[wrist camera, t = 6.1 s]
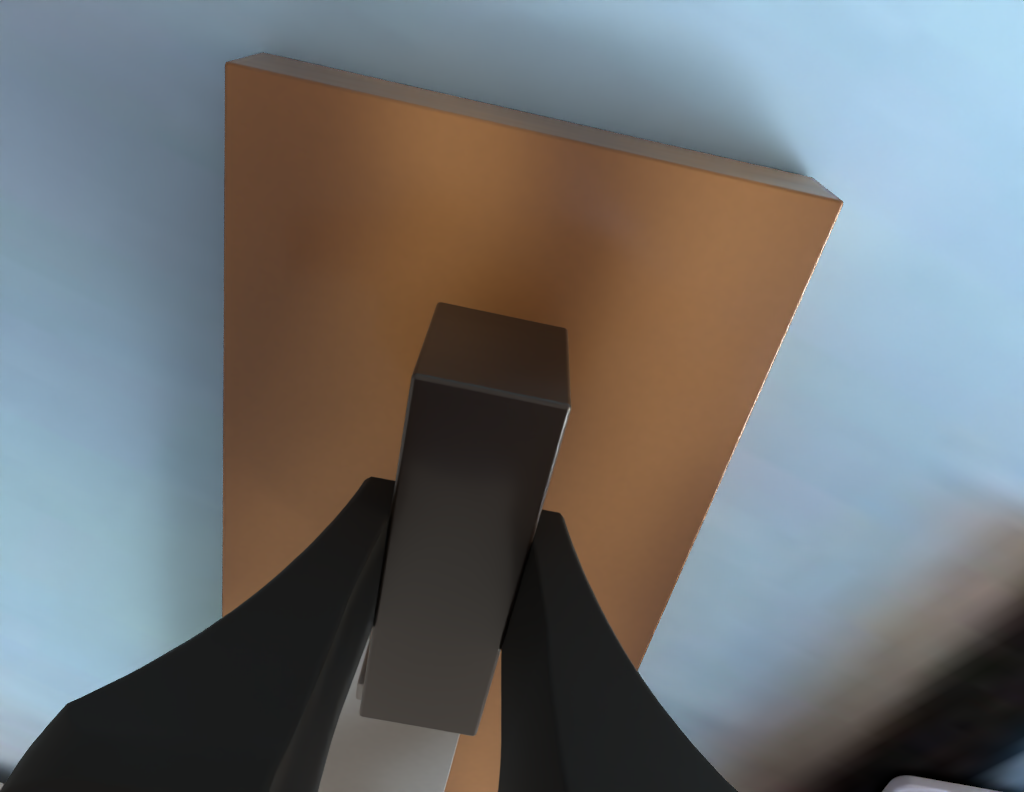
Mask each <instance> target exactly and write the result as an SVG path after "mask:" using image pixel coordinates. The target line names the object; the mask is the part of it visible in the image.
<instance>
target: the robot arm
mask: <svg viewBox="0 0 1024 792" xmlns="http://www.w3.org/2000/svg"><path fill="white" fill-rule="evenodd" d="M394 485H395V481H393V480H388V479H383V478H377V477H372V476H371V477H369V478H367V479H366V480H364V482H363V483H362V485H361V486H360V488H359V489H358V491H357V492H356V493H355V495H354V496H353V497H352V498H351V500H350V501H349V502H348V503H347V505H346V506H345V507H344V508H343V509H342V511H341V512H340V513H339V514H338V515H337V516H336V518H335V519H334V520H333V521H332V522H331V523H330V524H329V525H328V526H327V527H326V528H325V529H324V530H323V532H322V533H321V534H320V535H319V536H318V537H317V538H316V539H315V540H314V541H313V542H312V543H311V544H310V545H309V546H308V547H307V548H306V549H305V550H304V551H303V552H302V553H301V554H300V555H299V556H297V557H296V558H295V559H294V560H293V561H292V562H291V563H290V564H289V565H288V566H287V567H286V568H285V569H283V570H282V571H281V572H280V573H279V574H278V575H277V576H276V577H274V578H273V579H272V580H271V581H270V582H269V583H267V584H266V585H265V586H264V587H262V588H261V589H260V590H259V591H258V592H256V593H255V594H254V595H252V596H251V597H250V598H249V599H247V600H246V601H245V602H243V603H242V604H241V605H239V606H238V607H237V608H235V609H234V610H232V611H231V612H230V613H228V614H227V615H225V616H224V617H223V618H221V619H220V620H218V621H217V622H215V623H214V624H213V625H211V626H210V627H208V628H207V629H205V630H204V631H202V632H201V633H199V634H198V635H196V636H194V637H193V638H191V639H190V640H188V641H186V642H185V643H183V644H181V645H179V646H178V647H176V648H174V649H173V650H171V651H169V652H167V653H166V654H164V655H162V656H161V657H159V658H157V659H155V660H154V661H152V662H150V663H149V664H147V665H145V666H143V667H141V668H140V669H138V670H136V671H134V672H132V673H130V674H128V675H126V676H124V677H122V678H120V679H118V680H116V681H114V682H112V683H110V684H108V685H106V686H104V687H102V688H100V689H98V690H95V691H93V692H91V693H89V694H87V695H85V696H83V697H81V698H79V699H77V700H74V701H72V702H70V703H68V704H66V706H65V707H64V708H63V709H62V710H61V711H60V712H59V713H58V714H57V716H56V717H55V718H54V719H53V720H52V721H51V722H50V724H49V725H48V726H47V727H46V728H45V730H44V731H43V732H42V733H41V734H40V735H39V737H38V738H37V739H36V740H35V741H34V742H33V744H32V745H31V746H30V747H29V749H28V750H27V751H26V753H25V754H24V756H23V757H22V758H21V760H20V761H19V763H18V764H17V766H16V767H15V769H14V770H13V772H12V773H11V775H10V776H9V778H8V779H7V781H6V782H5V784H4V785H3V787H2V788H1V790H0V792H318V790H319V786H320V782H321V779H322V775H323V771H324V767H325V764H326V760H327V756H328V752H329V749H330V745H331V741H332V738H333V735H334V732H335V729H336V726H337V723H338V719H339V716H340V714H341V711H342V708H343V705H344V703H345V700H346V697H347V695H348V692H349V689H350V687H351V684H352V681H353V678H354V676H355V673H356V670H357V668H358V665H359V662H360V659H361V657H362V654H363V651H364V649H365V646H366V643H367V640H368V638H369V635H370V632H371V629H372V627H373V622H374V615H375V609H376V603H377V596H378V590H379V583H380V577H381V571H382V564H383V558H384V551H385V545H386V538H387V532H388V526H389V519H390V511H391V505H392V498H393V492H394ZM498 792H738V791H737V790H736V789H735V788H734V787H733V786H732V785H730V784H729V783H728V782H727V781H726V780H725V779H724V778H723V777H722V776H721V775H720V774H719V773H718V771H717V770H716V769H715V768H714V767H713V766H712V765H711V764H710V763H709V762H708V761H707V759H706V758H705V757H704V756H703V755H702V754H701V753H700V752H699V751H698V750H697V748H696V747H695V746H694V745H693V744H692V743H691V742H690V740H689V739H688V738H687V737H686V736H685V734H684V733H683V732H682V731H681V729H680V728H679V727H678V726H677V724H676V723H675V722H674V721H673V719H672V718H671V717H670V716H669V714H668V713H667V712H666V711H665V709H664V708H663V707H662V706H661V704H660V703H659V702H658V700H657V699H656V697H655V696H654V695H653V693H652V692H651V690H650V689H649V688H648V686H647V685H646V683H645V682H644V680H643V679H642V677H641V676H640V674H639V673H638V671H637V670H636V668H635V667H634V665H633V664H632V662H631V661H630V659H629V657H628V656H627V654H626V652H625V651H624V649H623V647H622V646H621V644H620V642H619V641H618V639H617V637H616V635H615V633H614V632H613V630H612V628H611V626H610V624H609V622H608V621H607V619H606V617H605V615H604V613H603V611H602V609H601V607H600V605H599V603H598V601H597V599H596V597H595V594H594V592H593V590H592V588H591V586H590V584H589V582H588V580H587V577H586V575H585V573H584V570H583V568H582V566H581V563H580V561H579V558H578V556H577V553H576V551H575V548H574V546H573V543H572V540H571V538H570V535H569V532H568V529H567V526H566V523H565V519H564V518H563V516H562V515H561V513H558V512H553V511H548V510H543V509H542V511H541V515H540V518H539V522H538V525H537V528H536V532H535V535H534V539H533V542H532V545H531V549H530V552H529V555H528V559H527V562H526V566H525V569H524V573H523V576H522V579H521V583H520V586H519V590H518V593H517V597H516V600H515V603H514V607H513V610H512V614H511V617H510V621H509V624H508V627H507V631H506V634H505V638H504V641H503V645H502V648H501V758H500V775H499V785H498ZM882 792H1001V791H995V790H990V789H984V788H978V787H973V786H967V785H961V784H956V783H950V782H944V781H939V780H933V779H928V778H922V777H916V776H911V775H902V776H898V777H895V778H893V779H892V780H891V781H890V782H889V783H888V785H887V786H886V787H885V788H884V790H883V791H882Z"/></svg>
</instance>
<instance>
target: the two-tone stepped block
mask: <svg viewBox="0 0 1024 792" xmlns="http://www.w3.org/2000/svg"><path fill="white" fill-rule="evenodd" d="M570 412H571V390H570V367H569V345H568V330H567V329H565V328H562V327H557V326H553V325H548V324H543V323H538V322H534V321H529V320H524V319H519V318H514V317H510V316H505V315H500V314H495V313H491V312H486V311H481V310H476V309H472V308H467V307H462V306H457V305H452V304H448V303H443V302H439V303H438V304H437V305H436V308H435V311H434V313H433V316H432V319H431V322H430V325H429V328H428V331H427V333H426V336H425V339H424V342H423V345H422V348H421V351H420V353H419V356H418V359H417V362H416V365H415V368H414V371H413V373H412V376H411V383H410V389H409V395H408V402H407V408H406V415H405V421H404V428H403V434H402V440H401V447H400V453H399V460H398V466H397V473H396V479H395V485H394V492H393V498H392V505H391V511H390V519H389V526H388V532H387V538H386V545H385V551H384V558H383V564H382V571H381V577H380V583H379V590H378V596H377V603H376V609H375V615H374V622H373V627H372V629H371V632H370V635H369V638H368V640H367V643H366V646H365V649H364V651H363V654H362V657H361V659H360V662H359V665H358V668H357V670H356V673H355V676H354V678H353V681H352V684H351V687H350V689H349V692H348V695H347V697H346V700H345V703H344V705H343V708H342V711H341V714H340V716H339V719H338V723H337V726H336V729H335V732H334V735H333V738H332V741H331V745H330V749H329V752H328V756H327V760H326V764H325V767H324V771H323V775H322V779H321V782H320V786H319V790H318V792H444V791H445V787H446V783H447V780H448V776H449V772H450V769H451V765H452V761H453V758H454V754H455V750H456V747H457V743H458V739H459V736H460V734H463V735H468V736H475V735H476V733H477V731H478V727H479V724H480V721H481V717H482V714H483V710H484V707H485V703H486V700H487V697H488V693H489V690H490V686H491V683H492V679H493V676H494V673H495V669H496V666H497V662H498V659H499V655H500V652H501V648H502V645H503V641H504V638H505V634H506V631H507V627H508V624H509V621H510V617H511V614H512V610H513V607H514V603H515V600H516V597H517V593H518V590H519V586H520V583H521V579H522V576H523V573H524V569H525V566H526V562H527V559H528V555H529V552H530V549H531V545H532V542H533V539H534V535H535V532H536V528H537V525H538V522H539V518H540V515H541V511H542V508H543V504H544V501H545V498H546V494H547V491H548V487H549V484H550V480H551V477H552V474H553V470H554V467H555V463H556V460H557V456H558V453H559V450H560V446H561V443H562V439H563V436H564V432H565V429H566V426H567V422H568V419H569V415H570Z"/></svg>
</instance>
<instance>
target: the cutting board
mask: <svg viewBox="0 0 1024 792" xmlns="http://www.w3.org/2000/svg"><path fill="white" fill-rule="evenodd" d="M842 206H843V201H842V200H840V199H839V198H838V197H837V196H835V195H834V194H833V193H831V192H830V191H829V190H828V189H826V188H825V187H824V186H822V185H821V184H820V183H819V182H817V181H816V180H815V179H814V178H812V177H808V176H804V175H799V174H795V173H790V172H786V171H782V170H777V169H773V168H769V167H764V166H760V165H755V164H751V163H747V162H742V161H738V160H733V159H729V158H725V157H720V156H716V155H712V154H707V153H703V152H698V151H694V150H690V149H685V148H681V147H676V146H672V145H668V144H663V143H659V142H654V141H650V140H646V139H641V138H637V137H633V136H628V135H624V134H619V133H615V132H611V131H606V130H602V129H597V128H593V127H589V126H584V125H580V124H575V123H571V122H567V121H562V120H558V119H554V118H549V117H545V116H540V115H536V114H532V113H527V112H523V111H518V110H514V109H510V108H505V107H501V106H497V105H492V104H488V103H483V102H479V101H475V100H470V99H466V98H461V97H457V96H453V95H448V94H444V93H439V92H435V91H431V90H426V89H422V88H418V87H413V86H409V85H404V84H400V83H396V82H391V81H387V80H382V79H378V78H374V77H369V76H365V75H360V74H356V73H352V72H347V71H343V70H339V69H334V68H330V67H325V66H321V65H317V64H312V63H308V62H303V61H299V60H295V59H290V58H286V57H281V56H277V55H273V54H268V53H264V52H262V53H258V54H254V55H250V56H247V57H243V58H239V59H235V60H232V61H228V62H226V64H225V166H224V360H223V554H222V618H223V617H224V616H225V615H227V614H228V613H230V612H231V611H232V610H234V609H235V608H237V607H238V606H239V605H241V604H242V603H243V602H245V601H246V600H247V599H249V598H250V597H251V596H252V595H254V594H255V593H256V592H258V591H259V590H260V589H261V588H262V587H264V586H265V585H266V584H267V583H269V582H270V581H271V580H272V579H273V578H274V577H276V576H277V575H278V574H279V573H280V572H281V571H282V570H283V569H285V568H286V567H287V566H288V565H289V564H290V563H291V562H292V561H293V560H294V559H295V558H296V557H297V556H299V555H300V554H301V553H302V552H303V551H304V550H305V549H306V548H307V547H308V546H309V545H310V544H311V543H312V542H313V541H314V540H315V539H316V538H317V537H318V536H319V535H320V534H321V533H322V532H323V530H324V529H325V528H326V527H327V526H328V525H329V524H330V523H331V522H332V521H333V520H334V519H335V518H336V516H337V515H338V514H339V513H340V512H341V511H342V509H343V508H344V507H345V506H346V505H347V503H348V502H349V501H350V500H351V498H352V497H353V496H354V495H355V493H356V492H357V491H358V489H359V488H360V486H361V485H362V483H363V482H364V480H366V479H367V478H369V477H371V476H372V477H377V478H383V479H388V480H393V481H395V479H396V473H397V466H398V460H399V453H400V447H401V440H402V434H403V428H404V421H405V415H406V408H407V402H408V395H409V389H410V383H411V376H412V373H413V371H414V368H415V365H416V362H417V359H418V356H419V353H420V351H421V348H422V345H423V342H424V339H425V336H426V333H427V331H428V328H429V325H430V322H431V319H432V316H433V313H434V311H435V308H436V305H437V304H438V303H439V302H443V303H448V304H452V305H457V306H462V307H467V308H472V309H476V310H481V311H486V312H491V313H495V314H500V315H505V316H510V317H514V318H519V319H524V320H529V321H534V322H538V323H543V324H548V325H553V326H557V327H562V328H565V329H567V330H568V345H569V367H570V390H571V412H570V415H569V419H568V422H567V426H566V429H565V432H564V436H563V439H562V443H561V446H560V450H559V453H558V456H557V460H556V463H555V467H554V470H553V474H552V477H551V480H550V484H549V487H548V491H547V494H546V498H545V501H544V504H543V508H542V509H543V510H548V511H553V512H558V513H561V515H562V516H563V518H564V519H565V523H566V526H567V529H568V532H569V535H570V538H571V540H572V543H573V546H574V548H575V551H576V553H577V556H578V558H579V561H580V563H581V566H582V568H583V570H584V573H585V575H586V577H587V580H588V582H589V584H590V586H591V588H592V590H593V592H594V594H595V597H596V599H597V601H598V603H599V605H600V607H601V609H602V611H603V613H604V615H605V617H606V619H607V621H608V622H609V624H610V626H611V628H612V630H613V632H614V633H615V635H616V637H617V639H618V641H619V642H620V644H621V646H622V647H623V649H624V651H625V652H626V654H627V656H628V657H629V659H630V661H631V662H632V664H633V665H634V667H635V668H636V670H637V671H638V668H639V666H640V664H641V662H642V659H643V657H644V655H645V653H646V650H647V648H648V646H649V643H650V641H651V639H652V637H653V634H654V632H655V630H656V628H657V625H658V623H659V621H660V619H661V616H662V614H663V612H664V609H665V607H666V605H667V603H668V600H669V598H670V596H671V594H672V591H673V589H674V587H675V585H676V582H677V580H678V578H679V575H680V573H681V571H682V569H683V566H684V564H685V562H686V560H687V557H688V555H689V553H690V551H691V548H692V546H693V544H694V541H695V539H696V537H697V535H698V532H699V530H700V528H701V526H702V523H703V521H704V519H705V517H706V514H707V512H708V510H709V507H710V505H711V503H712V501H713V498H714V496H715V494H716V492H717V489H718V487H719V485H720V483H721V480H722V478H723V476H724V473H725V471H726V469H727V467H728V464H729V462H730V460H731V458H732V455H733V453H734V451H735V449H736V446H737V444H738V442H739V439H740V437H741V435H742V433H743V430H744V428H745V426H746V424H747V421H748V419H749V417H750V415H751V412H752V410H753V408H754V405H755V403H756V401H757V399H758V396H759V394H760V392H761V390H762V387H763V385H764V383H765V380H766V378H767V376H768V374H769V371H770V369H771V367H772V365H773V362H774V360H775V358H776V356H777V353H778V351H779V349H780V346H781V344H782V342H783V340H784V337H785V335H786V333H787V331H788V328H789V326H790V324H791V322H792V319H793V317H794V315H795V312H796V310H797V308H798V306H799V303H800V301H801V299H802V297H803V294H804V292H805V290H806V288H807V285H808V283H809V281H810V278H811V276H812V274H813V272H814V269H815V267H816V265H817V263H818V260H819V258H820V256H821V254H822V251H823V249H824V247H825V244H826V242H827V240H828V238H829V235H830V233H831V231H832V229H833V226H834V224H835V222H836V220H837V217H838V215H839V213H840V210H841V208H842ZM500 758H501V652H500V655H499V659H498V662H497V666H496V669H495V673H494V676H493V679H492V683H491V686H490V690H489V693H488V697H487V700H486V703H485V707H484V710H483V714H482V717H481V721H480V724H479V727H478V731H477V733H476V735H475V736H468V735H463V734H460V736H459V739H458V743H457V747H456V750H455V754H454V758H453V761H452V765H451V769H450V772H449V776H448V780H447V783H446V787H445V791H444V792H498V785H499V775H500Z"/></svg>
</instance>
